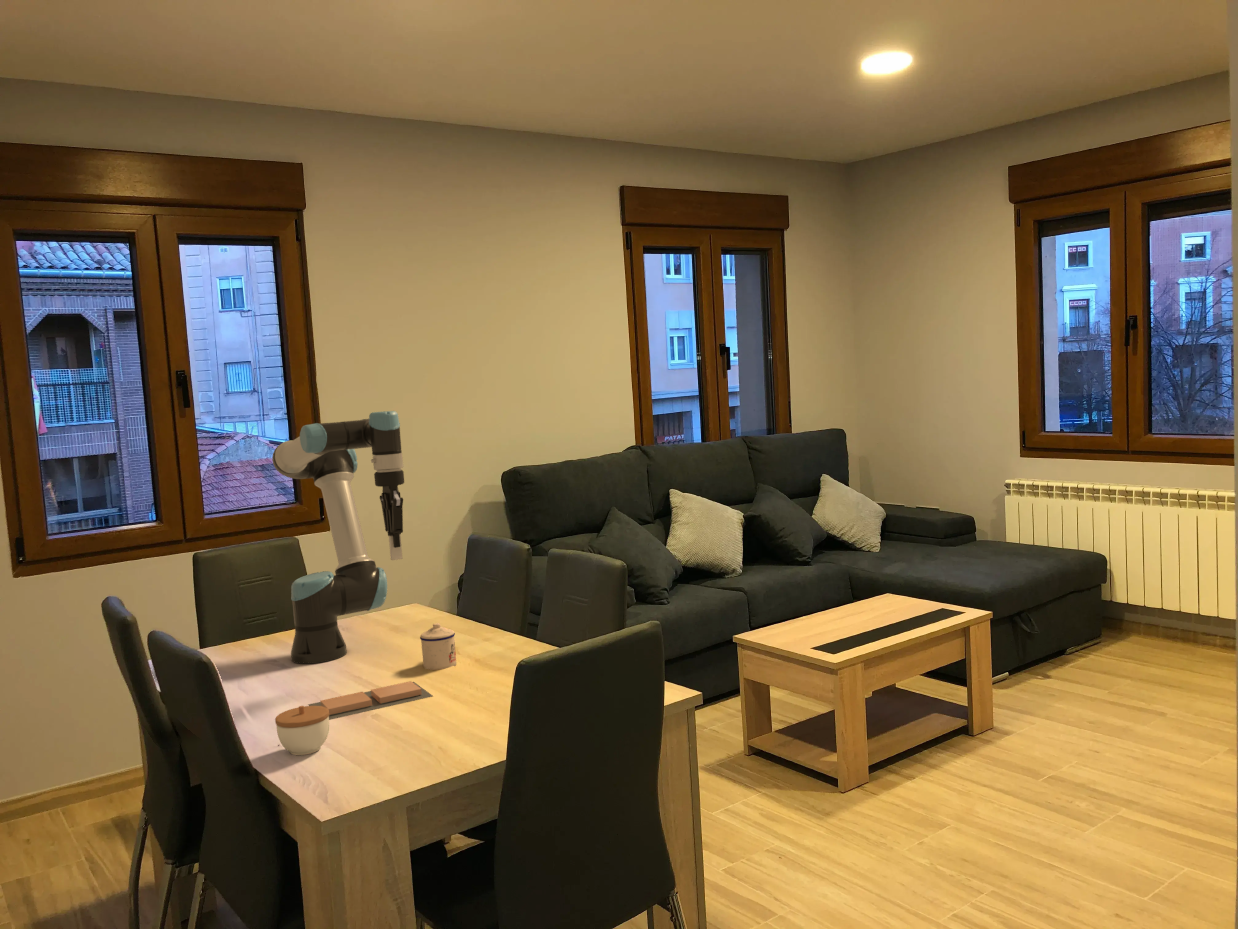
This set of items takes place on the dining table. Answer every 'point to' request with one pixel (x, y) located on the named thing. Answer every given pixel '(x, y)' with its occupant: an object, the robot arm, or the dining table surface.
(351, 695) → the tile near
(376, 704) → the mat
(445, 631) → the teacup with lid
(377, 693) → the tile far
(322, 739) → the lidded jar
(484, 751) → the dining table surface
